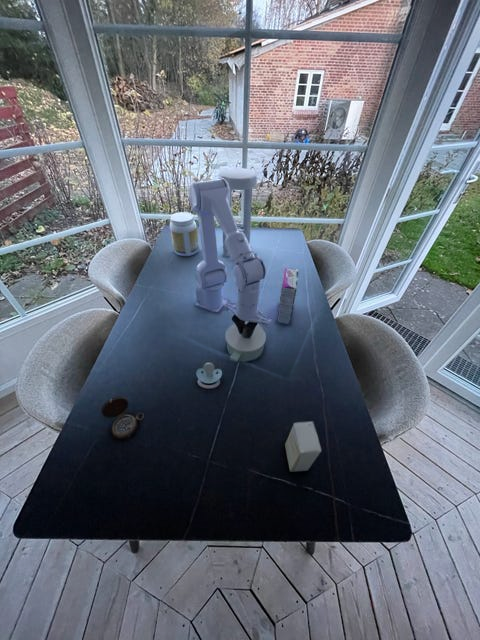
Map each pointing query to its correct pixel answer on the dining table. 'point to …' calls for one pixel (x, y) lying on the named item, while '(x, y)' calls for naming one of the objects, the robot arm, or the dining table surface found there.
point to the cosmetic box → (302, 446)
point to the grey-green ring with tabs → (244, 354)
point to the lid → (245, 338)
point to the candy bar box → (287, 295)
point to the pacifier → (208, 376)
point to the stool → (246, 182)
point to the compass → (120, 417)
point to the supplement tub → (184, 234)
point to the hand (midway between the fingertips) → (245, 334)
